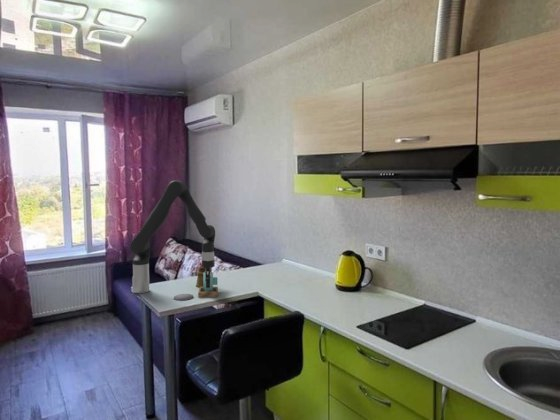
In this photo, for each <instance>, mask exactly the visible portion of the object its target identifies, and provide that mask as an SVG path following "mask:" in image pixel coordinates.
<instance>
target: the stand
mask: <svg viewBox="0 0 560 420" xmlns="http://www.w3.org/2000/svg"><path fill="white" fill-rule="evenodd" d="M197 293H198V294H197V296H198V298H218V296H219V295H218V293H219V287H218V286H213V291H210V292H204V287H200V288H199V287H198V292H197Z"/></svg>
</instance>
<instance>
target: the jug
mask: <svg viewBox="0 0 560 420" xmlns="http://www.w3.org/2000/svg"><path fill="white" fill-rule="evenodd" d="M207 279H209V278H207ZM203 280H204V292H210V291H213V287H214V286H217V285H218V276H215V277H214V272H213V271H212V273H211V278H210V288H206V281H205V280H206V278H205V272H204V273H203Z"/></svg>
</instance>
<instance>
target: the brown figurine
mask: <svg viewBox="0 0 560 420" xmlns="http://www.w3.org/2000/svg"><path fill="white" fill-rule="evenodd" d="M205 269H206V268H203V267H200V268H198V270H197V278H196V284H195V287H196V288H198V289H199V288H200V287H204V280H203V273H204V272H205Z"/></svg>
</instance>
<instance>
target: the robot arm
mask: <svg viewBox="0 0 560 420" xmlns="http://www.w3.org/2000/svg"><path fill="white" fill-rule="evenodd" d="M177 198H179V199H180V200H181V202H182V203H183V204H184V207H185V209H186V211H187V214H188V216H189V217H190V218H191V220H192V221H193V223H194V224H195V226H196V229H197V231H198V233H199V235H200V236H201V237H202V238H203V242H202V243H201V268H206V269H205V278H206V280H205V281H206V288H210V278H211V273H212V272H213V271H212V268H214V267H215V261H216V260H215V244H214V243H215V238H216V229H215V227H214V226H213V225H212V224H207V222H206V217H205V215H204V214H203V212H202V211H201V209H200V208H199V206H198V205H197V203H196V202H195V200H194V198H193V197H192V194H191V192H190V191H189V189H188V187H187V185H186V183H185V182H184V181H181V180H172V181H170V182H169V183H168V184H167V186H166V188H165V191H164V192H163V194H162V196H161V198H160V199H159V201H158V202H157V204H156V205H155V207H154V208H153V209H152V210H151V212H150V214H149V216H148V217H147V219H146V221H145V222H144V224H143V226H141V228H140V230H139V232H138V233H137V234H136V236H135V237H134V238H133V239H132V241H131V242H130V244H129V249H130V251H131V252H132V253H133V254H135V255H134V257H133V259H132V277H131V281H132V282H131V283H132V287H131V290H132V293H134V294H145V293H148V292H149V291H150V257H151V243H150V239H151V238H152V236H153V235H154V234H155V233H156V232H157V231H158V230H159V229H160V228H161V227H162V226H163V225H164V223H165V222H166V220H167V218H168V217H169V214H170V210H171V207H172V205H173V203H174V202H175V200H176V199H177ZM207 278H209V279H207Z"/></svg>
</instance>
